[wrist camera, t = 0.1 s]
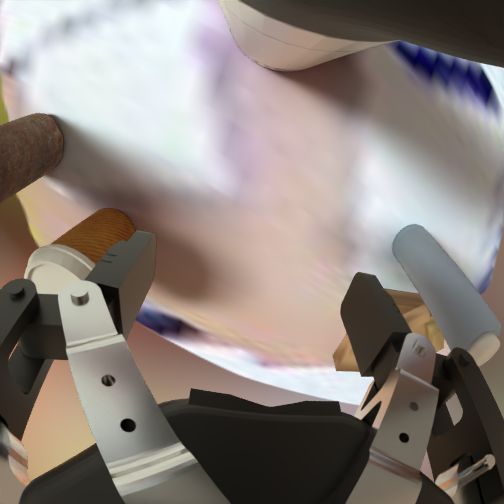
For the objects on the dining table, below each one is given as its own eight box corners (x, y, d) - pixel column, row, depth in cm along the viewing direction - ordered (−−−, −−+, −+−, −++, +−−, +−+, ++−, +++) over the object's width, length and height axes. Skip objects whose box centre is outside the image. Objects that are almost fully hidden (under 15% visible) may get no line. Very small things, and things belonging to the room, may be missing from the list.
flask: (403, 220, 28) (489, 333, 14) (433, 229, 29) (516, 332, 14) (385, 256, 31) (450, 376, 17) (416, 263, 32) (482, 372, 17)
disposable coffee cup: (84, 182, 26) (15, 238, 16) (160, 212, 28) (114, 285, 18) (76, 250, 31) (26, 314, 21) (141, 278, 33) (106, 354, 23)
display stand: (372, 281, 33) (388, 315, 28) (450, 294, 35) (468, 322, 30) (327, 357, 41) (333, 390, 36) (402, 360, 43) (412, 387, 38)
